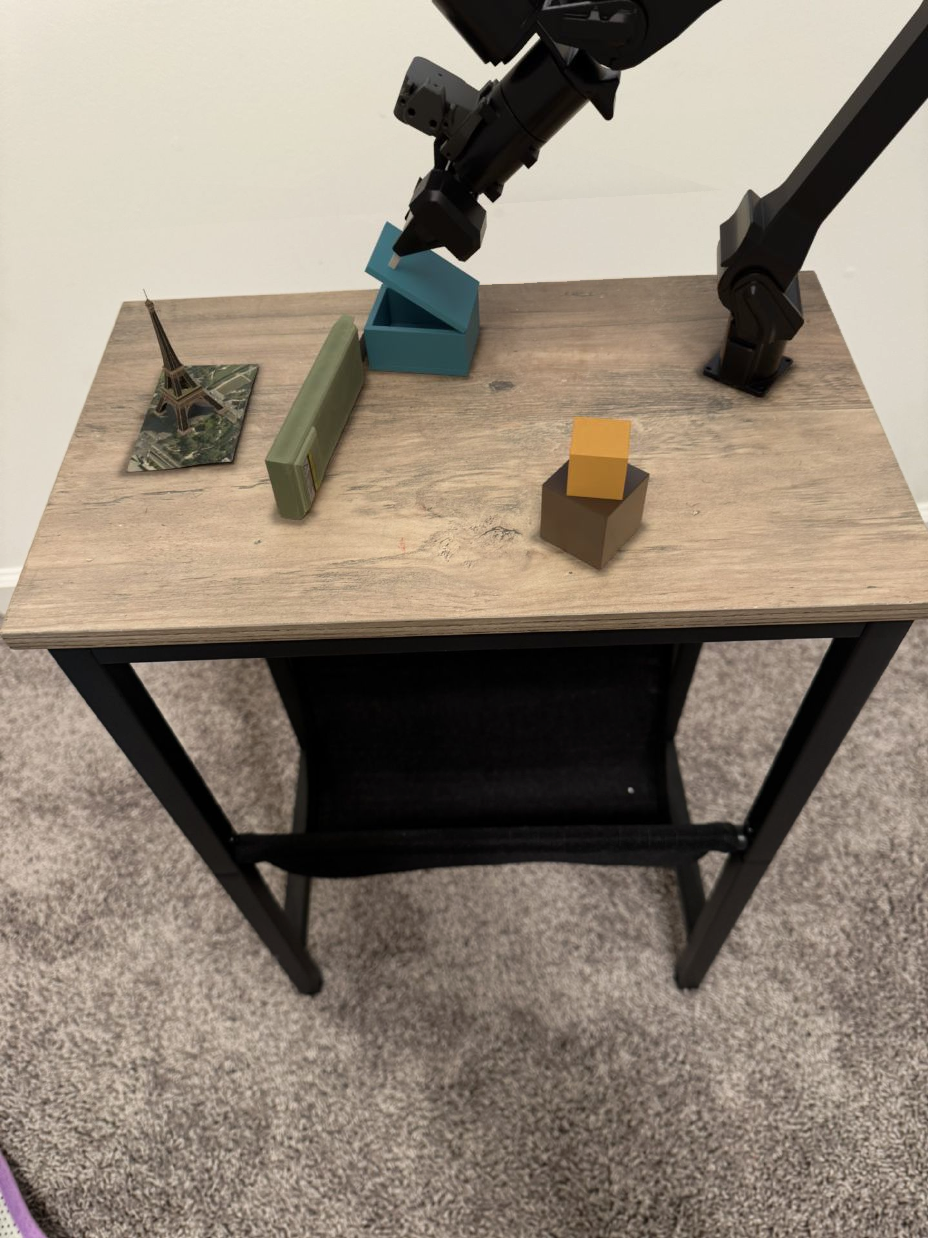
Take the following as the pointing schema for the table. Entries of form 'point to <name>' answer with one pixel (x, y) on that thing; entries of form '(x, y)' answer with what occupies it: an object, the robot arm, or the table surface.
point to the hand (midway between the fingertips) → (402, 236)
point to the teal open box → (417, 338)
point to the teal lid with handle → (424, 279)
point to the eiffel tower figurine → (191, 411)
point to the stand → (591, 517)
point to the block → (598, 458)
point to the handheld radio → (316, 420)
